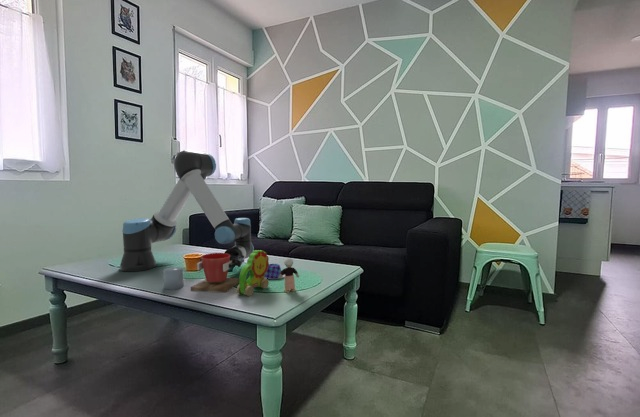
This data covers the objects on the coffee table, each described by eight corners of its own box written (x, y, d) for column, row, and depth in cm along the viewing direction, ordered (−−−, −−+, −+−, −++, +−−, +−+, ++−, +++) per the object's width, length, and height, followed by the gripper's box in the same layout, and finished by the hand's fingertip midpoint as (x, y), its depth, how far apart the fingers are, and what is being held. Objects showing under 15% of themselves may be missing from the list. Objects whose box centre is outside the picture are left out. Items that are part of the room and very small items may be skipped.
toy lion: (247, 298, 117) (247, 255, 116) (235, 295, 120) (234, 254, 118) (272, 285, 132) (272, 248, 130) (261, 283, 134) (260, 246, 133)
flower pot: (222, 284, 125) (222, 259, 124) (196, 282, 127) (195, 257, 126) (235, 276, 135) (234, 253, 134) (210, 275, 137) (210, 252, 137)
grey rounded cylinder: (160, 289, 127) (159, 271, 126) (171, 283, 134) (170, 266, 133) (176, 290, 126) (176, 272, 125) (187, 284, 133) (186, 267, 132)
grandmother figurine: (295, 288, 128) (295, 256, 127) (300, 290, 125) (300, 258, 124) (277, 291, 124) (277, 258, 123) (281, 294, 121) (281, 260, 120)
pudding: (292, 275, 148) (292, 263, 147) (276, 282, 137) (275, 269, 137) (270, 271, 153) (270, 260, 153) (253, 278, 143) (253, 266, 142)
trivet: (190, 290, 125) (190, 286, 125) (208, 279, 139) (208, 276, 139) (225, 292, 123) (225, 288, 123) (240, 281, 137) (240, 277, 137)
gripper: (258, 264, 147) (238, 278, 125) (211, 262, 150) (184, 275, 128) (258, 247, 146) (238, 258, 124) (211, 246, 150) (183, 256, 128)
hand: (210, 267), depth 126 cm, fingers closed on flower pot, 10 cm apart
